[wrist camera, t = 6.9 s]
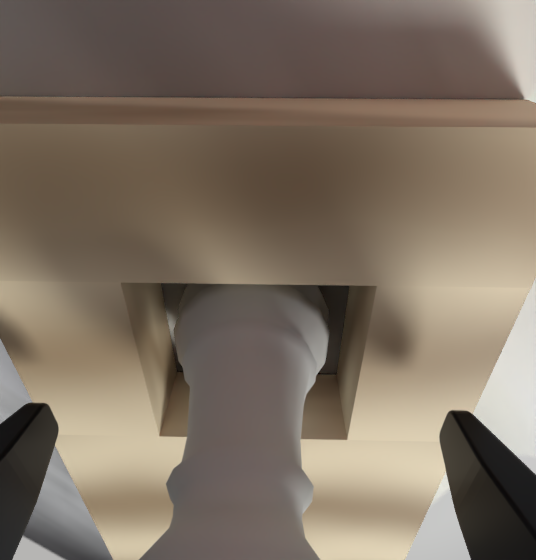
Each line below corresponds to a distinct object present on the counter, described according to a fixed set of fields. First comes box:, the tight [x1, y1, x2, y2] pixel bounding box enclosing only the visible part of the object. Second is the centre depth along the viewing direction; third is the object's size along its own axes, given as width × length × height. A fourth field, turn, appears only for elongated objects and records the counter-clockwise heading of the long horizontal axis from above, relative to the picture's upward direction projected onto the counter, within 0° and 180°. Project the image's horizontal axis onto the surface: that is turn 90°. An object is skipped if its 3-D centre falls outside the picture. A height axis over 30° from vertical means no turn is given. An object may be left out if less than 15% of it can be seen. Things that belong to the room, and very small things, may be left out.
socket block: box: [0, 96, 536, 560], centre depth 13 cm, size 18×12×2 cm, turn 0°
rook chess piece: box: [139, 283, 330, 560], centre depth 9 cm, size 4×4×8 cm
